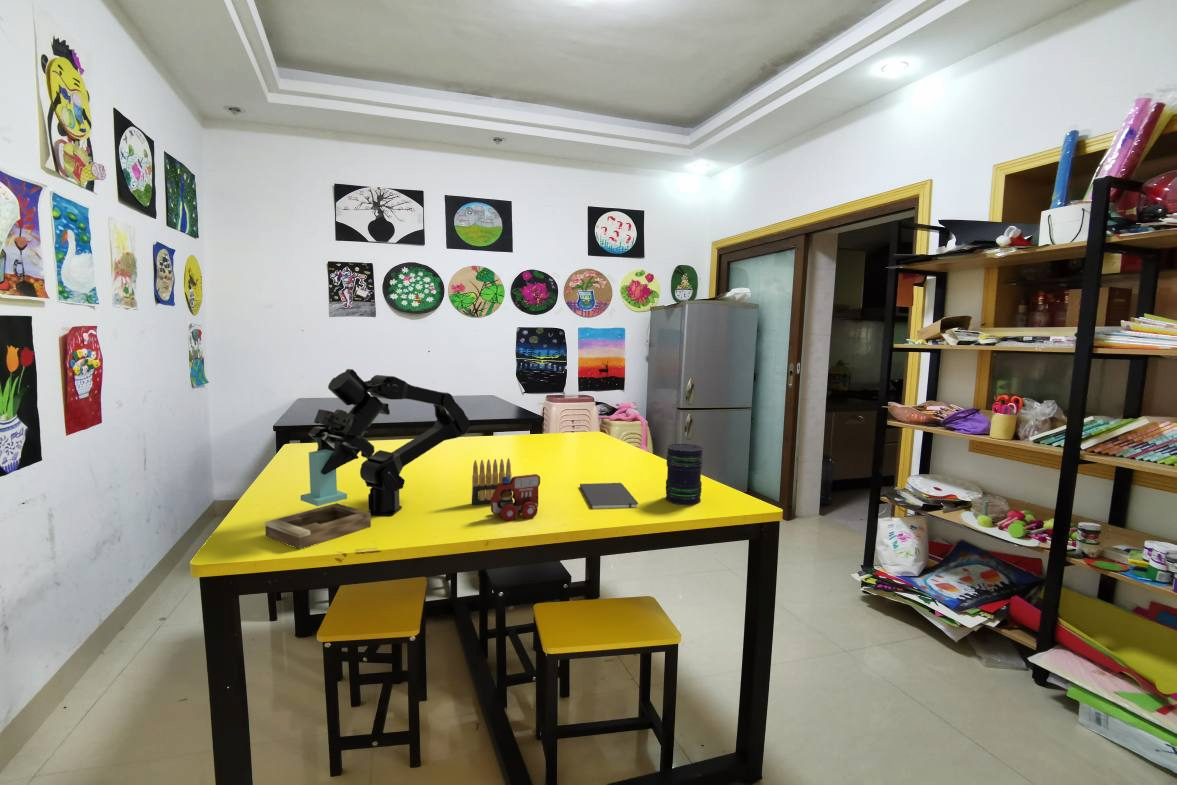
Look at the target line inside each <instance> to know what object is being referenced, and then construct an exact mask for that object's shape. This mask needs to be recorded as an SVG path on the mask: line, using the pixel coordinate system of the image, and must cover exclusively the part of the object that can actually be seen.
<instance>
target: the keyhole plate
mask: <svg viewBox="0 0 1177 785" xmlns="http://www.w3.org/2000/svg"><path fill="white" fill-rule="evenodd" d="M371 522H372V515H371V513H369V511H366V510H362V509H358V508H355V507H351V506H349V505H344V504H340V503H337V502H334V503H330V504H328V505H327V504H326V505H325V506H324V505H323V506H319V507H318V508H313V509H309V510H305V511H302V512H298V513H294V514H290V515H287V516H283V517H278V518H276V519H271V520H267V521H264V524H265V526H264V528H265V537H266V536H267V537H266V538H268V537H269V538H268V539H270V538H272V539H271V540H273V539H274V541H276V540H277V541H276V542H278V541H280V542H279V543H281V542H283V543H282V544H284V543H286V544H288V545H287V546H289V545H291V546H294V547H296V548H295V549H297V548H299V549H300V550H302V549H301V548H303V549H305V548H304V547H307V546H310V547H312V546H311V545H313V546H315V545H314V544H316V545H318V543H319V544H322V543H324V541H325V542H328V541H331V540H334V539H337V538H340V537H344V536H346V535H349V534H354V533H356V532H358V531H362V530H364V528H365V529H368V528H371V527H372V523H371ZM370 526H371V527H370ZM367 527H368V528H367ZM361 529H362V530H361ZM321 542H322V543H321ZM286 544H285V545H286ZM291 546H290V547H291ZM294 547H293V548H294ZM307 548H308V547H307ZM299 549H298V550H299Z"/></svg>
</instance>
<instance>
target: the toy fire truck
mask: <svg viewBox="0 0 1177 785" xmlns="http://www.w3.org/2000/svg"><path fill="white" fill-rule="evenodd" d="M540 484H541V476H540V475H539V474H538V473H535V474H533V473H532V474H523V475H516V476H512V479H511V480H510V478H509V477H508V476H505V477H504V478H503V479H502V483H500V484H498V486H497V488H496V490H495V492H494V494H493V496H492V498H491V504H490V511H491V513H492V514H493V515H500V516H501V518H502V519H503V520H504V521H506V522H510V521H511V522H512V521H515V519H516V518H517V516H518V512H520V513H521V516H522V517H524V518H525V519H527V520H530V519H533V518H535V517H536V516H537V514H538V510H539V509H538V507H539V487H540ZM509 489H511V490H512V492H511V490H509ZM500 497H501V498H500ZM511 498H512V499H511Z"/></svg>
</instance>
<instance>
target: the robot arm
mask: <svg viewBox="0 0 1177 785" xmlns="http://www.w3.org/2000/svg"><path fill="white" fill-rule="evenodd" d="M327 389H328V390H329V391H330V392H331V393H332V394H334V396H336V397H337V399H339V400H340V401H341V402H342V403H343V404H344V405H346V406H351V405H352V408H351V409H350V410H349V411H348V412H347V411H345V410H343V409H336V410H335V411H331V410H327V409H320V408H319V409H318V410H317V413H316V415H315V418H314V420H313V423H314V424H317V425H319V424H320V425H323V426H326V427H323V426H322V427H321V426H315V427H312V429H311V430H310V431H309V432H308V435H309V436H310V437H311V438H312V439H313V440H315V441H316V442H317V444H316V445H317V450H316V451H319V450H325V449H326V450H330V451H334V452H333V453H332V455H331V456H330V458H329V459H328V461H327V462H326V464H325V465H324V467H323V469H322V470H321V473H322V474H323V475H326V474H327V473H329V472H331V471H333V470H335V469H336V470H337V469H338V468H341V467H342V466H344V465H346V464H347V463H350V462H352V461H354V460H358V459H359V458H360V457H359V456H358V454H360V456H361V457H362V458H364V459H365V461H363V462H362V463H361V466H360V470H359V473H360V474H359V475H360V477H361V479H362V480H363V481H364V483H365V486H366V487H368V488H369V493H368V495H367V497H368V499H367V500H368V501H367V502H368V510H369V511H368V512H369V513H371V516H374V515H375V516H394V515H395V514H397V513H398V512H399V511H400V510H402V508H403V505H400V503H401V502H400V490H402V489H403V488H404V485H405V479H404V478H403V477H402V476H401V475H400V474H401V472H402V471H403V468H404V467H405V466H407V465H408V464H410V463H411V462H413V461H414V460H416V459H418V458H419V457H421V456H422V455H424V454H426V453H427V452H429V451H431V450H432V449H433V448H435V447H437V446H438V445H439V444H441V443H443V442H444V441H447V440H453V439H457V438H460V437H462V436H465V435H466V434H468V432H469V430H470V420H469V417H468V416H467V415H466V413H465V411H464V410H463V409H462V408H461V407H460V405H459V403H457V402H456V400H455V398H454V397H453V395H452V394H450V392H442V391H437V390H433V389H428V388H425V387H419V386H415V385H412V384H410V383H408V382H406V381H405V380H403V379H401V378H399V377H396V376H393V375H382V374H376V375H375V374H374V376H373V377H371V378H370V379H369V380H365V381H364V380H363V379H362V378H361V377H360V376H359V375H358V374H357V372H356V371H355V370H354V369H353V368H347V369H346V370H345V371H344V372H341V373H340V374H338V375H337V376H336V377H333V378H332V379H331V380H330V382H329V383H328V385H327ZM380 399H383V400H395V401H396V400H409V401H415V402H419V403H424V404H428V405H429V404H430V405H433V407H434V416H435V419H436V420H435V421H434V423H433V424H434V425H433V426H432V427H431V428H429V429H428V430H426V431H424V432H423V433H421V434H419V435H418V436H416V437H415V438H413V439H411V440H410V441H408V442H406V443H405V444H403V445H401V446H400V447H398V448H397V449H396V448H395V450H393V451H392V452H390V451H387V450H381V449H380V450H378V451H375V446H374V445H373V444H372V443H371V442H370V441H369V440H368V439H366V437H364V434H365V433H368V434H369V433H370V432H371V431H372V428H371V427H370V426H371V425H372V424H373V422H375V420H376V419H377V418H378V416H379V415H387V416H389V415H390V408H389V403H387V402H383V401H381V400H380ZM327 427H328V428H327ZM360 452H361V453H360Z"/></svg>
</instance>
